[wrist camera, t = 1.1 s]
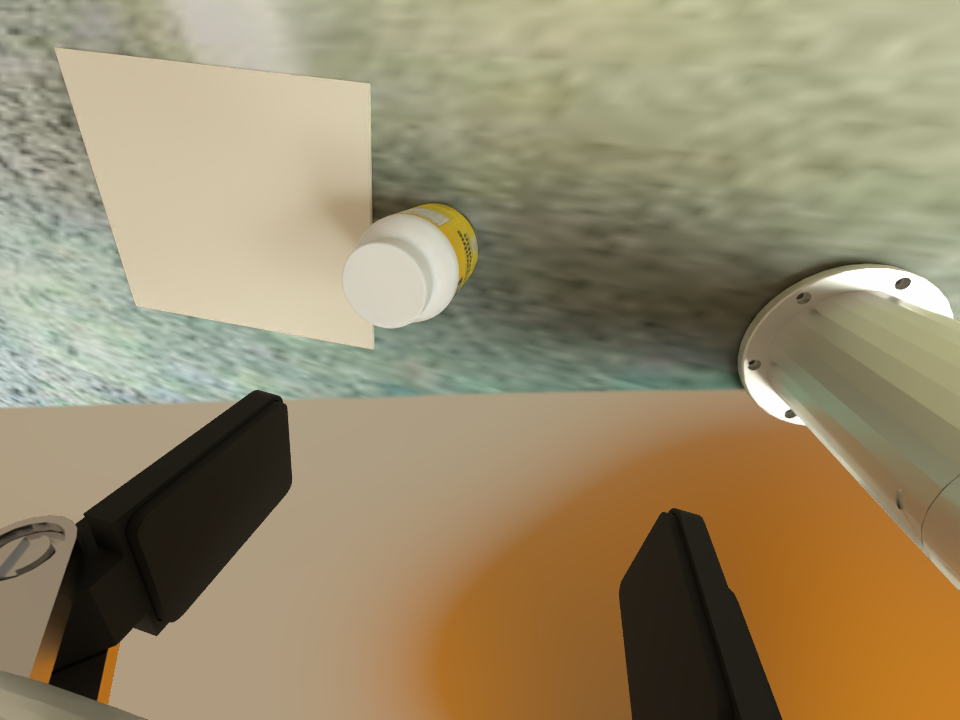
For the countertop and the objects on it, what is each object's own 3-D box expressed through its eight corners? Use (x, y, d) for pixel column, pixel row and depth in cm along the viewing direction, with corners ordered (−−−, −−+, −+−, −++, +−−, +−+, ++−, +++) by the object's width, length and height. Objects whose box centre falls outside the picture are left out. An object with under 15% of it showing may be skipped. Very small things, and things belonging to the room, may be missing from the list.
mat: (370, 84, 27) (367, 83, 26) (374, 347, 36) (372, 349, 36) (59, 48, 29) (54, 47, 29) (139, 304, 39) (135, 305, 38)
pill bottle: (454, 301, 33) (408, 365, 23) (387, 256, 32) (308, 302, 22) (497, 233, 30) (466, 273, 20) (424, 182, 29) (352, 196, 19)
